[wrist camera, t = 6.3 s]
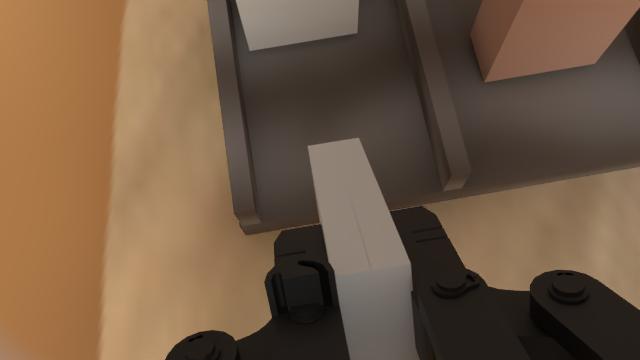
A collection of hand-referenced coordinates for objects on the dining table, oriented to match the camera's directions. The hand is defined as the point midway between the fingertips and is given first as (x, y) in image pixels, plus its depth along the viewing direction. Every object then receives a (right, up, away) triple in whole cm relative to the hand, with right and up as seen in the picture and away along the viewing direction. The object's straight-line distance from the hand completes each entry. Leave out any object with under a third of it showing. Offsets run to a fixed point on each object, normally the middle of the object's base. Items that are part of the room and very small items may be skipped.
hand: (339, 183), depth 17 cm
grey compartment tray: (+9, +6, +11) cm, 15 cm away
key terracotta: (+9, +6, +9) cm, 14 cm away
